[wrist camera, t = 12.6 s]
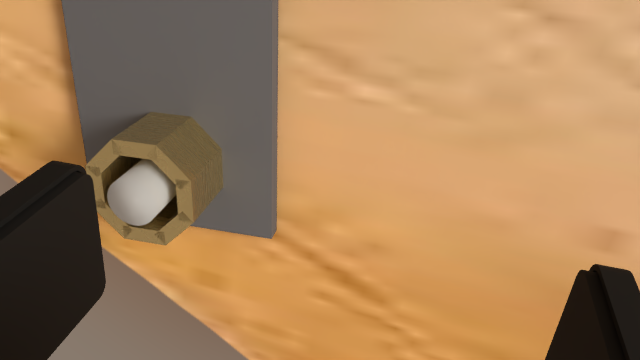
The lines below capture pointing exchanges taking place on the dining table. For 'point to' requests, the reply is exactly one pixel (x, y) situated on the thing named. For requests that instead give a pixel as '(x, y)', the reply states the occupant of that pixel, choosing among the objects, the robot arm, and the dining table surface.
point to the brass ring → (174, 160)
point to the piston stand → (183, 96)
